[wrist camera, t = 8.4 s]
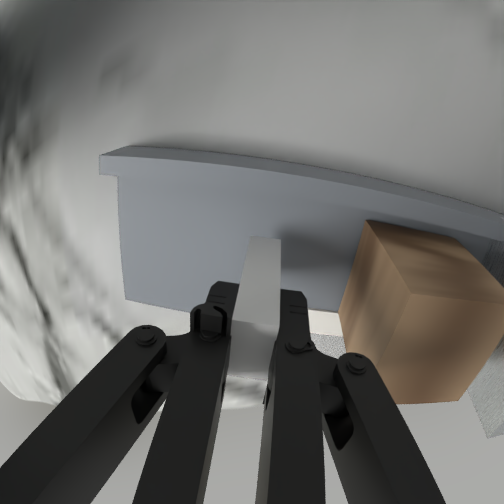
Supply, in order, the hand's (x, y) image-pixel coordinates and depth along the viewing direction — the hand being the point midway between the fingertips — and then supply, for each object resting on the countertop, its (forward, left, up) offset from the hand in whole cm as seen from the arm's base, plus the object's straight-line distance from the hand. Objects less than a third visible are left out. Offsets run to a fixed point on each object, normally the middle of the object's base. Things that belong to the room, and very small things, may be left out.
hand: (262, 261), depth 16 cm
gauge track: (+4, 0, -3) cm, 5 cm away
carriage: (+8, -1, -1) cm, 8 cm away
